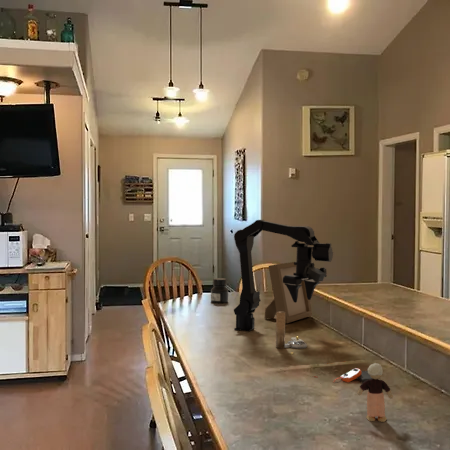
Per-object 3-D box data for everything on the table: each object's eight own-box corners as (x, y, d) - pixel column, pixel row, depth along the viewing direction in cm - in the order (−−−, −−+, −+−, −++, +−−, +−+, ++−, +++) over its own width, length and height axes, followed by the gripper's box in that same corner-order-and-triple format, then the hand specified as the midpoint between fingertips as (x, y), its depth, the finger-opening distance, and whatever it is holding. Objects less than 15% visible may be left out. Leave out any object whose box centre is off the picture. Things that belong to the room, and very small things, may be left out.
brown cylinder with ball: (272, 345, 180) (273, 310, 180) (300, 343, 184) (300, 309, 183) (280, 350, 174) (281, 314, 174) (309, 348, 178) (309, 312, 177)
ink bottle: (207, 301, 274) (208, 278, 274) (223, 300, 278) (223, 277, 278) (215, 304, 265) (215, 280, 265) (231, 303, 269) (231, 279, 269)
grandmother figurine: (387, 415, 121) (389, 361, 121) (393, 422, 117) (395, 366, 117) (354, 415, 121) (355, 361, 121) (359, 422, 117) (360, 366, 117)
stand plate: (263, 342, 188) (263, 336, 188) (300, 339, 193) (300, 333, 193) (288, 357, 169) (288, 350, 169) (329, 353, 174) (329, 346, 174)
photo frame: (312, 317, 235) (313, 261, 234) (287, 325, 218) (288, 265, 217) (283, 313, 244) (284, 259, 243) (257, 320, 227) (258, 262, 226)
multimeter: (316, 389, 140) (316, 377, 140) (308, 375, 152) (308, 364, 152) (383, 390, 140) (384, 377, 140) (370, 376, 152) (370, 364, 152)
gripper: (308, 263, 185) (306, 307, 186) (335, 260, 199) (334, 301, 199) (282, 260, 193) (280, 302, 193) (310, 257, 206) (309, 297, 207)
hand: (302, 301), depth 198 cm, fingers open, 9 cm apart
